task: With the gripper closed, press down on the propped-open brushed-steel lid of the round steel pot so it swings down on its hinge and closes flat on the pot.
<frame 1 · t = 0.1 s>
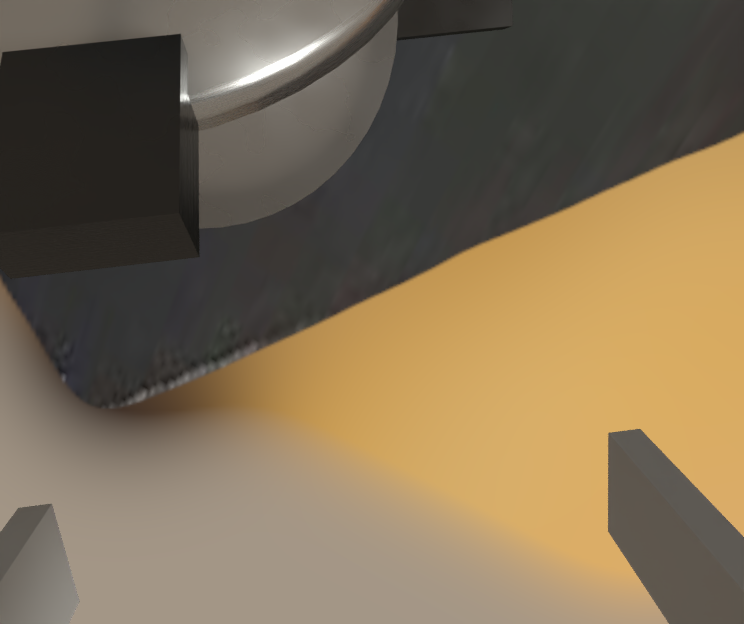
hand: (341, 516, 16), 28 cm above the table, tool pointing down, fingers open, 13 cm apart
steel pot: (225, 40, 39), on the table
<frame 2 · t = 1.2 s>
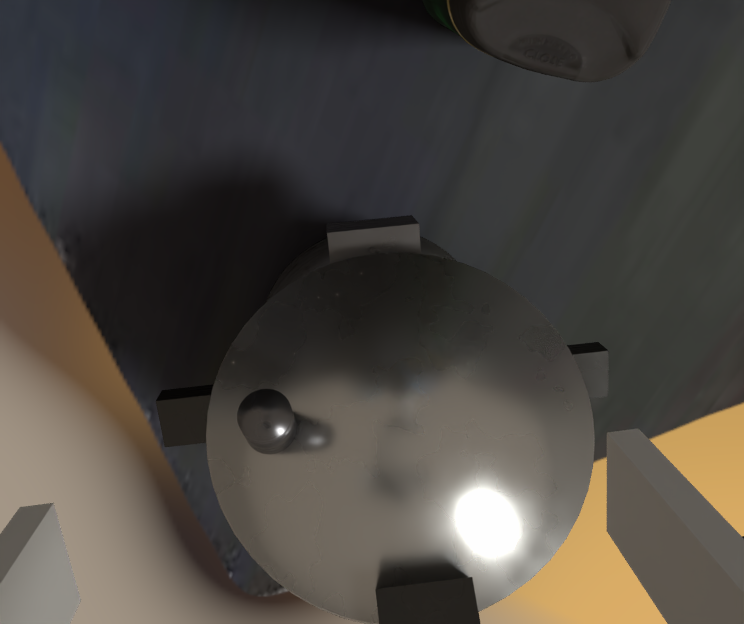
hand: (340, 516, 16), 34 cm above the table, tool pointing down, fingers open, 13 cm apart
steel pot: (374, 340, 51), on the table
pot lid: (404, 448, 31), point 21 cm above the table, hinge at 45.0°
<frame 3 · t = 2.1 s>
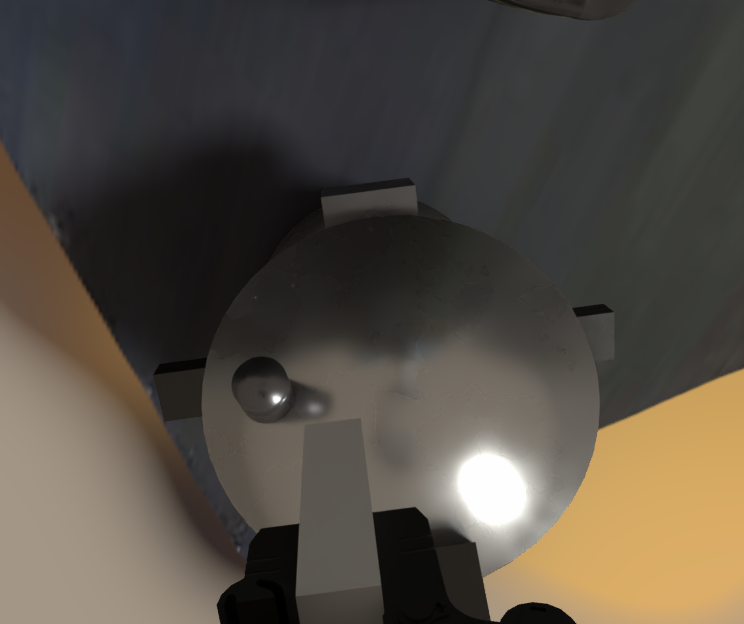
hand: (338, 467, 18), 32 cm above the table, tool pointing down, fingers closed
steel pot: (375, 309, 51), on the table
pot lid: (404, 413, 30), point 21 cm above the table, hinge at 45.0°
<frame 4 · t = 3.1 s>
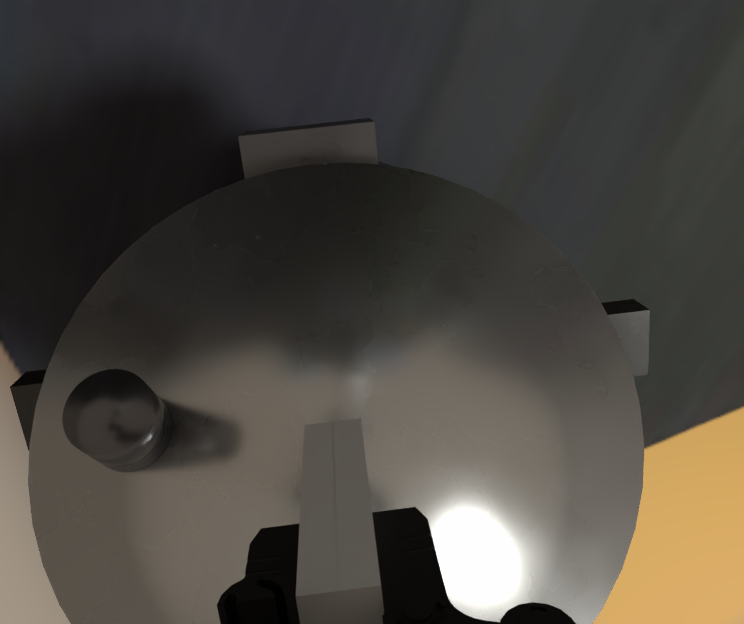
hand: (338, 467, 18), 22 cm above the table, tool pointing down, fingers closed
steel pot: (334, 305, 40), on the table
pot lid: (340, 461, 19), point 21 cm above the table, hinge at 43.9°, touching gripper
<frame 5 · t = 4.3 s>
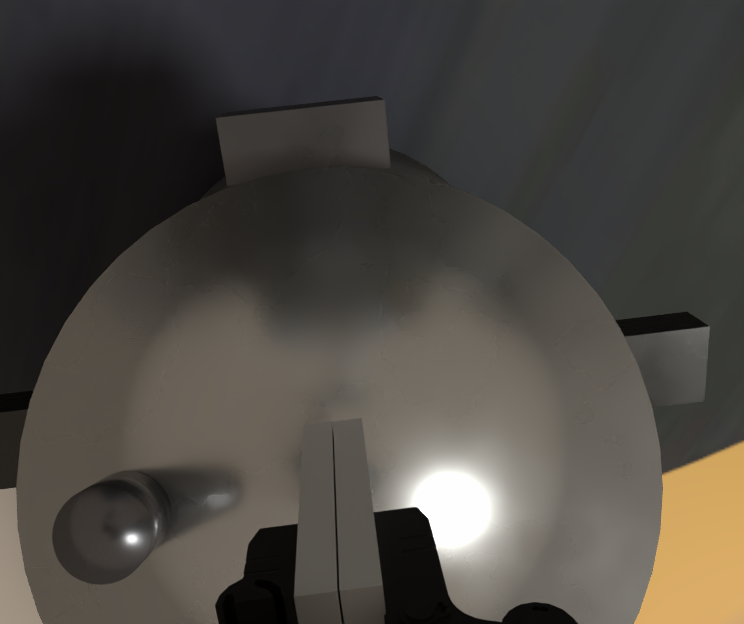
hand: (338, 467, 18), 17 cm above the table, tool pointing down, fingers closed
steel pot: (334, 310, 35), on the table
pot lid: (351, 554, 19), point 18 cm above the table, hinge at 21.4°, touching gripper
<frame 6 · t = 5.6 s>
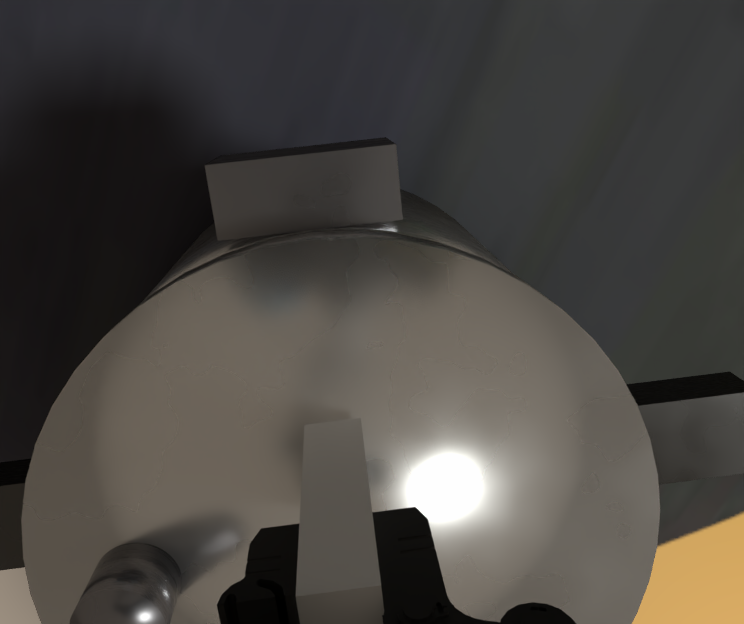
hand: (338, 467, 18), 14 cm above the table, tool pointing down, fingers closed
steel pot: (337, 360, 32), on the table
pot lid: (357, 613, 20), point 14 cm above the table, hinge at 1.9°
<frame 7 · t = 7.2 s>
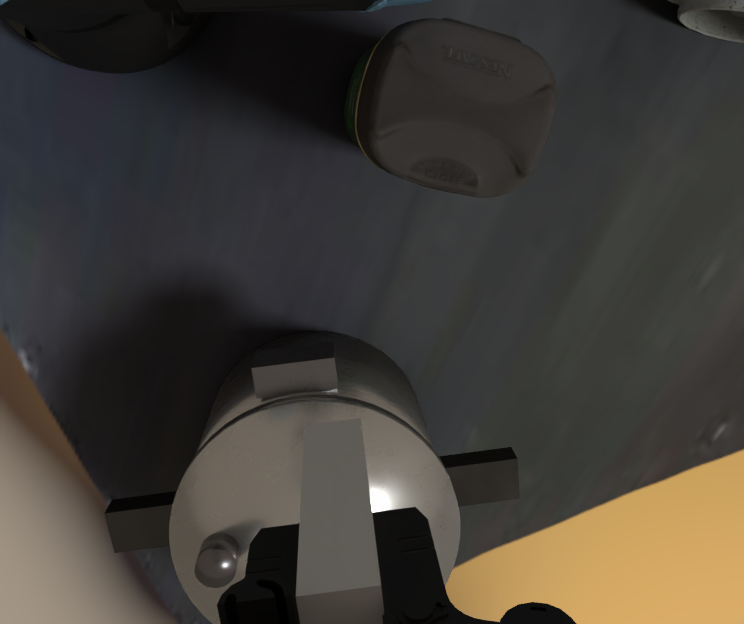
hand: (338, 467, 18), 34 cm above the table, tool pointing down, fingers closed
steel pot: (317, 431, 55), on the table
coffee jar: (412, 109, 49), on the table
pot lid: (320, 565, 43), point 14 cm above the table, hinge at 1.9°
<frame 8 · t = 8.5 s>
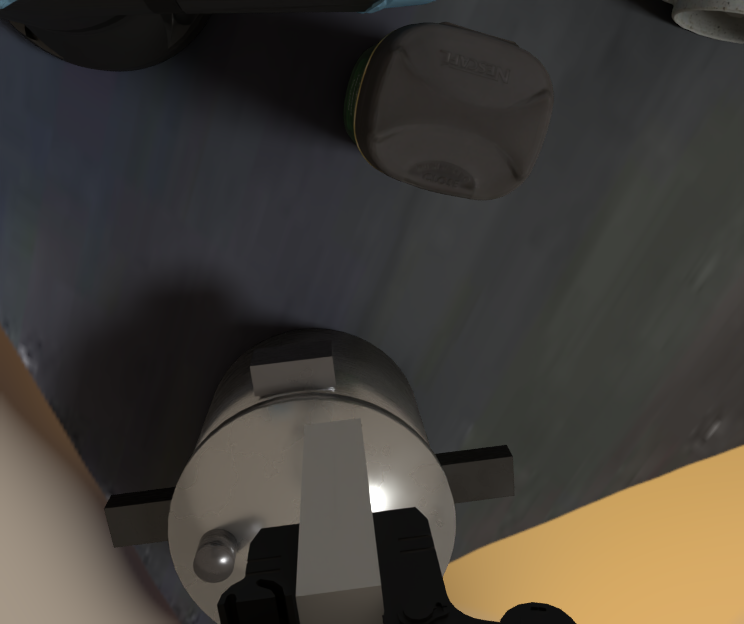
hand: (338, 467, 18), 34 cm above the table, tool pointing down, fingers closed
steel pot: (315, 427, 56), on the table
coffee jar: (411, 108, 49), on the table
pot lid: (317, 561, 43), point 14 cm above the table, hinge at 1.9°
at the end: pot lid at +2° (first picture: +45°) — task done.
